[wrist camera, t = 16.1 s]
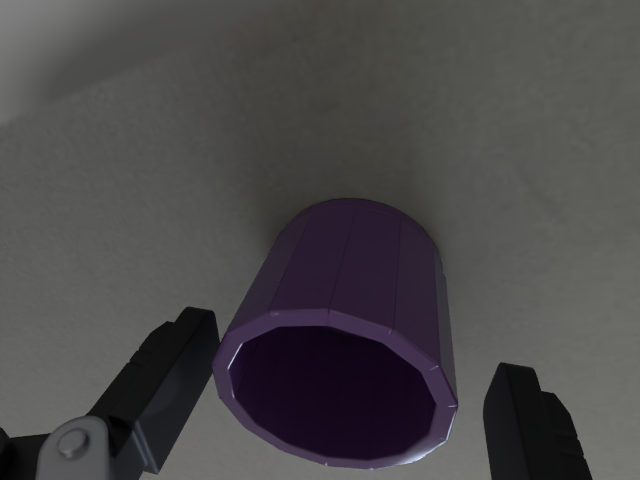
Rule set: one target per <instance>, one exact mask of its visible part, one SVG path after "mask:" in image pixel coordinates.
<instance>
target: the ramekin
mask: <svg viewBox="0 0 640 480" xmlns="http://www.w3.org/2000/svg"><path fill="white" fill-rule="evenodd" d="M211 366H212V370H213V375H214V379H215V383H216V388H217V392H218V396H219V398H220V399H221V400H222V402H223V403H224V404H225V405H226V406H227V408H228V409H229V410H230V411H231V412H232V414H233V415H234V416H235V417H236V418H237V419H238V421H239V422H240V423H241V424H242V425H243V426H244V427H245V428H246V429H248V430H249V431H251V432H252V433H254V434H255V435H257V436H259V437H260V438H262V439H263V440H265V441H267V442H268V443H270V444H271V445H273V446H275V447H276V448H278V449H279V450H281V451H284V452H286V453H289V454H292V455H295V456H298V457H301V458H304V459H307V460H310V461H313V462H316V463H319V464H322V465H327V466H333V467H344V468H355V469H366V470H373V469H374V470H377V469H382V468H387V467H392V466H397V465H403V464H408V463H413V462H415V461H418V460H420V459H421V458H423V457H424V456H425V455H427V454H428V453H430V452H431V451H433V450H434V449H436V448H437V447H438V446H440V445H441V444H443V443H444V442H446V441H447V439H448V438H449V434H450V431H451V428H452V425H453V422H454V419H455V415H456V412H457V409H458V397H457V387H456V377H455V367H454V357H453V347H452V336H451V326H450V316H449V306H448V296H447V286H446V278H445V276H444V273H443V267H442V262H441V258H440V255H439V253H438V250H437V248H436V246H435V244H434V243H433V241H432V239H431V238H430V237H429V235H428V234H427V233H426V232H425V231H424V229H423V228H422V227H420V226H419V225H418V224H417V223H416V222H415V221H414V220H412V219H411V218H409V217H408V216H407V215H405V214H403V213H402V212H400V211H398V210H396V209H394V208H392V207H389V206H386V205H384V204H381V203H377V202H373V201H369V200H361V199H339V200H331V201H327V202H323V203H320V204H317V205H314V206H312V207H310V208H308V209H306V210H304V211H302V212H301V213H299V214H298V215H297V216H295V217H294V218H293V219H292V220H291V221H290V222H289V223H288V224H287V225H286V226H285V228H284V229H283V230H282V231H281V232H280V234H279V236H278V238H277V240H276V241H275V243H274V245H273V247H272V249H271V251H270V252H269V254H268V256H267V258H266V260H265V261H264V263H263V265H262V267H261V269H260V271H259V272H258V274H257V276H256V278H255V280H254V282H253V283H252V285H251V287H250V289H249V291H248V292H247V294H246V296H245V298H244V300H243V302H242V303H241V305H240V307H239V309H238V311H237V313H236V314H235V316H234V318H233V320H232V322H231V323H230V325H229V327H228V329H227V331H226V333H225V335H224V337H223V339H222V341H221V343H220V345H219V347H218V349H217V351H216V353H215V355H214V357H213V359H212V363H211Z"/></svg>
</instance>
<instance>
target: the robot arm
mask: <svg viewBox="0 0 640 480" xmlns="http://www.w3.org/2000/svg"><path fill="white" fill-rule="evenodd" d="M219 345H220V340H219V334H218V329H217V323H216V317H215V313H214V312H213V311H211V310H206V309H200V308H194V307H186V308H185V309H184V310H183V311H182V313H181V314H180V315H179V317H178V318H177V319H176V321H175V322H169V321H167V322H165V323H164V324H162V325H161V326H159V327H158V328H157V329H155V330H154V331H152V332H151V333H150V334H149V336H148V337H147V338H146V339H145V341H144V342H143V343H142V345H141V346H140V347H139V350H138V351H136V352H135V354H134V355H133V356H132V357H131V359H130V362H129V363H127V364H126V365H125V366H124V368H123V369H122V370H121V372H120V373H119V374H118V375H117V377H116V378H115V379H114V381H113V382H112V383H111V384H110V386H109V387H108V388H107V390H106V391H105V392H104V394H103V395H102V396H101V397H100V399H99V400H98V401H97V403H96V404H95V405H94V406H93V408H92V409H91V410H90V411H89V412H88V413H87V414H86V415H85V416H81V417H78V418H74V419H72V420H69V421H68V422H66V423H64V424H62V425H61V426H59V427H58V428H57V429H56V430H54V431H53V432H52V433H49V434H41V435H32V436H23V437H14V438H9V436H8V435H7V434H6V432H5V431H4V430H3V429H2V428H1V427H0V480H139V478H140V476H141V474H142V473H143V471H145V472H149V473H153V474H157V475H158V473H159V472H160V470H161V468H162V466H163V464H164V462H165V460H166V459H167V457H168V455H169V453H170V451H171V449H172V447H173V446H174V444H175V442H176V440H177V438H178V436H179V434H180V432H181V431H182V429H183V427H184V425H185V423H186V421H187V419H188V418H189V416H190V414H191V412H192V410H193V408H194V406H195V405H196V403H197V401H198V399H199V397H200V395H201V393H202V392H203V390H204V388H205V386H206V384H207V382H208V380H209V378H210V377H211V375H212V373H213V370H212V366H211V363H212V359H213V357H214V355H215V353H216V351H217V349H218V347H219ZM483 421H484V428H485V435H486V442H487V450H488V457H489V464H490V471H491V478H492V480H593V479H592V476H591V474H590V471H589V468H588V465H587V462H586V459H584V457H583V455H584V453H583V450H582V447H581V444H580V442H579V440H577V433H576V430H575V427H574V424H573V421H572V418H571V415H570V413H569V412H568V411H567V409H566V408H565V407H564V405H563V404H562V403H561V401H560V400H559V399H558V397H557V396H556V395H555V394H554V393H549V392H544V391H541V389H540V385H539V382H538V378H537V375H536V372H535V370H534V369H533V368H531V367H525V366H520V365H514V364H508V363H502V362H501V363H500V364H499V365H498V367H497V370H496V372H495V375H494V377H493V379H492V382H491V384H490V387H489V389H488V392H487V394H486V397H485V400H484V407H483Z"/></svg>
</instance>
